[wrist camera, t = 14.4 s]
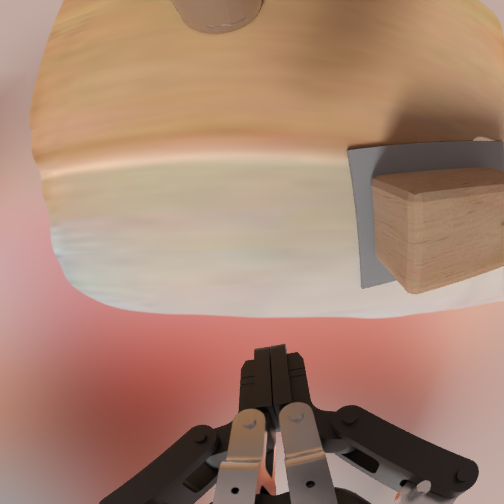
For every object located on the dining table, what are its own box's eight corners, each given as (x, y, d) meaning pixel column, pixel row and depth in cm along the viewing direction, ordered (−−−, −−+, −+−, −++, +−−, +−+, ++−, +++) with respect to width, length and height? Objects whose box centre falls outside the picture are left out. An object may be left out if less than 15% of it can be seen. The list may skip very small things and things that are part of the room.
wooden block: (412, 191, 18) (535, 179, 17) (366, 175, 28) (485, 165, 26) (409, 300, 22) (527, 259, 20) (372, 257, 31) (483, 233, 29)
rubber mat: (346, 150, 27) (348, 150, 27) (501, 141, 25) (503, 141, 24) (361, 286, 33) (362, 288, 33) (499, 246, 31) (501, 248, 30)
